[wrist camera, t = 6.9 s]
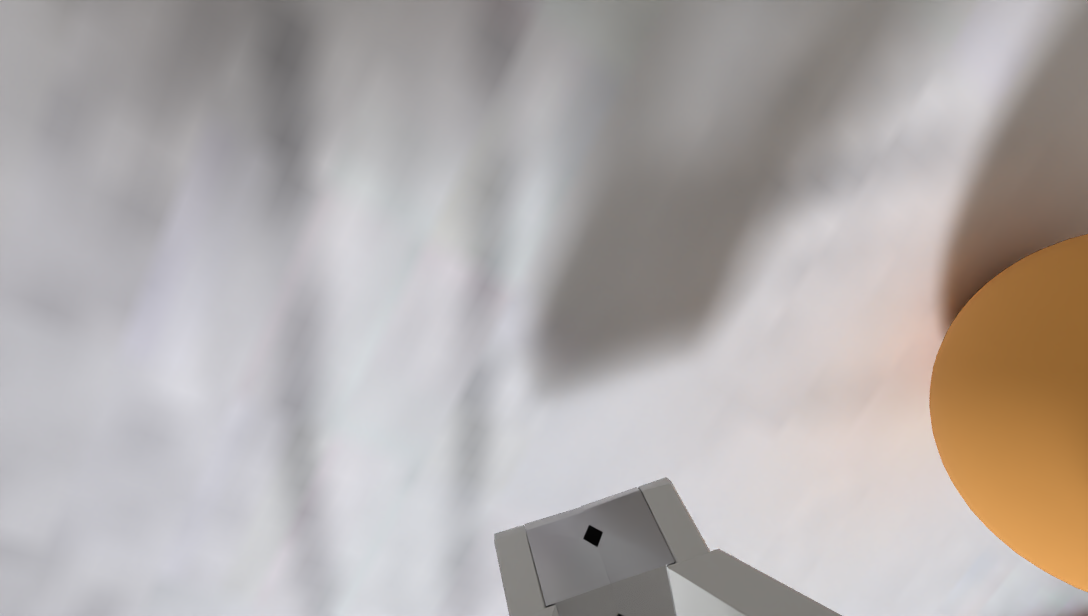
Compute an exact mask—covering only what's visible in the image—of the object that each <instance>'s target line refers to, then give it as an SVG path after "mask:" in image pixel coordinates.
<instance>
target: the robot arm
mask: <svg viewBox="0 0 1088 616" xmlns="http://www.w3.org/2000/svg"><path fill="white" fill-rule="evenodd" d="M494 543H495V548H496V553H497V557H498V562H499V567H500V572H501V577H502V582H503V587H504V591H505V596H506V601H507V606H508V611H509V616H842V615H840V614H838V613H836V612H834V611H832V610H831V609H829V608H827V607H825V606H823V605H821V604H820V603H818V602H816V601H814V600H812V599H810V598H809V597H807V596H805V595H803V594H801V593H799V592H797V591H796V590H794V589H792V588H790V587H788V586H786V585H785V584H783V583H781V582H779V581H777V580H775V579H774V578H772V577H770V576H768V575H766V574H764V573H763V572H761V571H759V570H757V569H755V568H753V567H752V566H750V565H748V564H746V563H744V562H742V561H740V560H739V559H737V558H735V557H733V556H731V555H729V554H728V553H726V552H724V551H722V550H720V549H717V550H713V551H710V550H709V548H708V547H707V545H706V543H705V541H704V539H703V538H702V536H701V534H700V532H699V530H698V529H697V527H696V525H695V523H694V522H693V520H692V518H691V516H690V514H689V513H688V511H687V509H686V507H685V505H684V504H683V502H682V500H681V498H680V496H679V495H678V493H677V491H676V489H675V488H674V486H673V484H672V482H671V481H670V480H669V479H668V478H663V479H660V480H657V481H654V482H651V483H648V484H645V485H642V486H639V487H638V488H637V487H636V488H633V489H630V490H627V491H624V492H621V493H618V494H615V495H612V496H609V497H607V498H604V499H601V500H598V501H595V502H592V503H589V504H586V505H583V506H581V507H579V508H576V509H573V510H570V511H566V512H563V513H560V514H556V515H553V516H550V517H546V518H543V519H540V520H536V521H533V522H530V523H527V524H525V526H524V525H522V526H518V527H515V528H512V529H509V530H505V531H502V532H499V533H496V534H494Z"/></svg>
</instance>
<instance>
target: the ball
mask: <svg viewBox="0 0 1088 616" xmlns="http://www.w3.org/2000/svg"><path fill="white" fill-rule="evenodd" d="M929 406H930V415H931V423H932V430H933V435H934V438H935V442H936V445H937V448H938V451H939V454H940V457H941V460H942V463H943V465H944V467H945V469H946V471H947V473H948V475H949V477H950V479H951V481H952V482H953V484H954V486H955V487H956V489H957V490H958V492H959V493H960V495H961V496H962V498H963V499H964V500H965V502H966V503H967V505H968V506H969V508H970V509H971V510H972V511H973V512H974V514H975V515H976V516H977V517H978V518H979V519H980V520H981V521H982V522H983V523H984V524H985V525H986V527H987V528H988V529H990V530H991V531H992V532H993V533H994V534H995V535H996V536H997V537H998V538H999V539H1000V540H1002V541H1003V542H1004V543H1005V544H1006V545H1007V546H1009V547H1010V548H1011V549H1012V550H1013V551H1015V552H1016V553H1017V554H1019V555H1020V556H1022V557H1023V558H1025V559H1026V560H1028V561H1029V562H1031V563H1032V564H1034V565H1035V566H1037V567H1038V568H1040V569H1042V570H1043V571H1045V572H1047V573H1049V574H1050V575H1052V576H1054V577H1056V578H1058V579H1060V580H1062V581H1064V582H1066V583H1068V584H1070V585H1072V586H1074V587H1076V588H1078V589H1081V590H1083V591H1086V592H1088V234H1086V235H1082V236H1078V237H1074V238H1070V239H1067V240H1065V241H1062V242H1059V243H1057V244H1054V245H1052V246H1049V247H1047V248H1044V249H1041V250H1039V251H1037V252H1035V253H1033V254H1031V255H1029V256H1027V257H1025V258H1023V259H1021V260H1019V261H1018V262H1016V263H1015V264H1013V265H1011V266H1010V267H1008V268H1007V269H1005V270H1004V271H1002V272H1001V273H1000V274H998V275H997V276H995V277H994V278H993V279H991V280H990V281H989V282H988V283H987V284H985V285H984V286H983V287H982V288H981V289H980V290H979V291H978V292H977V293H976V294H975V295H974V296H973V297H972V298H971V299H970V300H969V301H968V302H967V303H966V305H965V306H964V307H963V308H962V310H961V311H960V312H959V313H958V315H957V316H956V318H955V319H954V321H953V322H952V324H951V326H950V328H949V329H948V331H947V333H946V335H945V337H944V340H943V342H942V344H941V347H940V349H939V351H938V354H937V356H936V360H935V363H934V366H933V372H932V378H931V386H930V405H929Z"/></svg>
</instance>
